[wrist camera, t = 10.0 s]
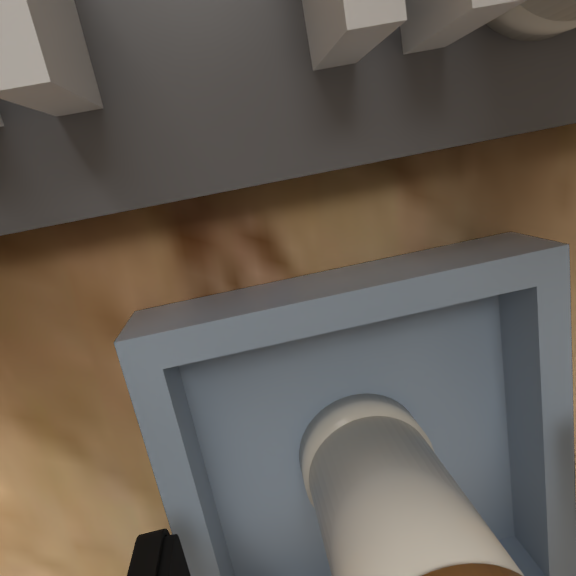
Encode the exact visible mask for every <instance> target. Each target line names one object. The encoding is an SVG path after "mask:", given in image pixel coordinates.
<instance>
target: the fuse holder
mask: <svg viewBox="0 0 576 576" xmlns="http://www.w3.org/2000/svg"><path fill="white" fill-rule="evenodd" d="M525 1H527V0H0V236H1V235H6V234H11V233H17V232H22V231H27V230H32V229H37V228H42V227H47V226H52V225H57V224H63V223H68V222H73V221H78V220H83V219H88V218H93V217H98V216H103V215H108V214H114V213H119V212H124V211H129V210H134V209H139V208H144V207H149V206H154V205H160V204H165V203H170V202H175V201H180V200H185V199H190V198H195V197H200V196H206V195H211V194H216V193H221V192H226V191H231V190H236V189H241V188H246V187H252V186H257V185H262V184H267V183H272V182H277V181H282V180H287V179H292V178H297V177H303V176H308V175H313V174H318V173H323V172H328V171H333V170H338V169H343V168H349V167H354V166H359V165H364V164H369V163H374V162H379V161H384V160H389V159H395V158H400V157H405V156H410V155H415V154H420V153H425V152H430V151H435V150H440V149H446V148H451V147H456V146H461V145H466V144H471V143H476V142H481V141H486V140H492V139H497V138H502V137H507V136H512V135H517V134H522V133H527V132H532V131H538V130H543V129H548V128H553V127H558V126H563V125H568V124H573V123H576V28H574V29H571V30H569V31H566V32H564V33H561V34H559V35H557V36H554V37H552V38H548V39H544V40H540V41H519V40H514V39H510V38H508V37H505V36H503V35H501V34H499V33H497V32H495V31H494V30H492V29H491V28H490V27H489V26H487V25H486V23H488V22H490V21H492V20H493V19H495V18H497V17H499V16H500V15H502V14H504V13H506V12H507V11H509V10H511V9H513V8H514V7H516V6H518V5H520V4H521V3H523V2H525Z"/></svg>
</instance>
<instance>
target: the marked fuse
mask: <svg viewBox="0 0 576 576" xmlns="http://www.w3.org/2000/svg"><path fill="white" fill-rule="evenodd" d="M299 462H300V467H301V472H302V476H303V480H304V484H305V488H306V492H307V495H308V498H309V500H310V502H311V504H312V506H313V507H314V509H315V512H316V515H317V519H318V523H319V527H320V531H321V535H322V539H323V543H324V547H325V551H326V555H327V559H328V563H329V567H330V571H331V575H332V576H524V575H523V573H522V572H521V570H520V569H519V568H518V566H517V565H516V564H515V562H514V561H513V559H512V558H511V557H510V555H509V554H508V553H507V551H506V550H505V549H504V547H503V546H502V544H501V543H500V542H499V540H498V539H497V538H496V536H495V535H494V533H493V532H492V531H491V529H490V528H489V527H488V525H487V524H486V523H485V521H484V520H483V518H482V517H481V516H480V514H479V513H478V512H477V510H476V509H475V507H474V506H473V505H472V503H471V502H470V501H469V499H468V498H467V496H466V495H465V494H464V492H463V491H462V490H461V488H460V487H459V486H458V484H457V483H456V481H455V480H454V479H453V477H452V476H451V475H450V473H449V472H448V470H447V469H446V468H445V466H444V465H443V464H442V462H441V461H440V460H439V458H438V457H437V455H436V454H435V453H434V449H433V447H432V444H431V442H430V440H429V438H428V436H427V435H426V434H425V432H424V431H423V430H422V428H421V427H420V426H419V424H418V423H417V422H416V420H415V419H414V418H413V416H412V415H411V414H410V412H409V411H408V410H407V409H406V408H405V407H404V406H403V405H401V404H400V403H398V402H397V401H395V400H393V399H391V398H389V397H386V396H383V395H378V394H369V393H366V394H355V395H350V396H347V397H344V398H341V399H339V400H336V401H334V402H333V403H331V404H329V405H328V406H326V407H325V408H324V409H322V410H321V411H320V412H319V413H318V414H317V415H316V416H315V417H314V418H313V419H312V421H311V422H310V423H309V425H308V426H307V428H306V430H305V432H304V434H303V436H302V439H301V443H300V448H299Z"/></svg>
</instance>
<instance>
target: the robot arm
mask: <svg viewBox="0 0 576 576" xmlns="http://www.w3.org/2000/svg"><path fill="white" fill-rule="evenodd" d="M127 576H191V575H190V572H189V568H188V565H187V562H186V558H185V555H184V552H183V549H182V545H181V542H180V539H179V536H178V535H177V534H173V535H170V534H169V532H168V530H167V529H162V530H157V531H153V532H149V533H145V534H141V535H139V536H138V537H137V539H136V542H135V546H134V550H133V554H132V558H131V562H130V566H129V570H128V574H127Z"/></svg>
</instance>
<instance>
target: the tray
mask: <svg viewBox="0 0 576 576" xmlns="http://www.w3.org/2000/svg"><path fill="white" fill-rule="evenodd" d="M114 345H115V349H116V352H117V355H118V358H119V362H120V365H121V368H122V371H123V375H124V378H125V381H126V385H127V388H128V391H129V394H130V398H131V401H132V404H133V407H134V411H135V414H136V417H137V420H138V424H139V427H140V430H141V433H142V437H143V440H144V443H145V446H146V450H147V453H148V456H149V460H150V463H151V466H152V469H153V473H154V476H155V479H156V482H157V486H158V489H159V492H160V495H161V499H162V502H163V505H164V508H165V512H166V515H167V518H168V522H169V525H170V528H171V531H172V535H173V534H177V535H178V536H179V539H180V542H181V545H182V549H183V552H184V555H185V558H186V562H187V565H188V568H189V572H190V575H191V576H332V575H331V571H330V567H329V563H328V559H327V555H326V551H325V547H324V543H323V539H322V535H321V531H320V527H319V523H318V519H317V515H316V512H315V509H314V507H313V506H312V504H311V502H310V500H309V498H308V495H307V492H306V488H305V484H304V480H303V476H302V472H301V467H300V462H299V448H300V443H301V439H302V436H303V434H304V432H305V430H306V428H307V426H308V425H309V423H310V422H311V421H312V419H313V418H314V417H315V416H316V415H317V414H318V413H319V412H320V411H321V410H322V409H324V408H325V407H326V406H328V405H329V404H331V403H333V402H334V401H336V400H339V399H341V398H344V397H347V396H350V395H355V394H366V393H369V394H378V395H383V396H386V397H389V398H391V399H393V400H395V401H397V402H398V403H400V404H401V405H403V406H404V407H405V408H406V409H407V410H408V411H409V412H410V414H411V415H412V416H413V418H414V419H415V420H416V422H417V423H418V424H419V426H420V427H421V428H422V430H423V431H424V432H425V434H426V435H427V436H428V438H429V440H430V442H431V444H432V447H433V449H434V453H435V454H436V455H437V457H438V458H439V460H440V461H441V462H442V464H443V465H444V466H445V468H446V469H447V470H448V472H449V473H450V475H451V476H452V477H453V479H454V480H455V481H456V483H457V484H458V486H459V487H460V488H461V490H462V491H463V492H464V494H465V495H466V496H467V498H468V499H469V501H470V502H471V503H472V505H473V506H474V507H475V509H476V510H477V512H478V513H479V514H480V516H481V517H482V518H483V520H484V521H485V523H486V524H487V525H488V527H489V528H490V529H491V531H492V532H493V533H494V535H495V536H496V538H497V539H498V540H499V542H500V543H501V544H502V546H503V547H504V549H505V550H506V551H507V553H508V554H509V555H510V557H511V558H512V559H513V561H514V562H515V564H516V565H517V566H518V568H519V569H520V570H521V572H522V573H523V575H524V576H576V502H575V461H574V419H573V377H572V336H571V294H570V253H569V244H566V243H561V242H556V241H552V240H547V239H542V238H538V237H533V236H529V235H524V234H519V233H515V232H507V233H502V234H497V235H493V236H488V237H483V238H479V239H474V240H469V241H464V242H460V243H455V244H450V245H446V246H441V247H436V248H431V249H427V250H422V251H417V252H412V253H408V254H403V255H398V256H394V257H389V258H384V259H379V260H375V261H370V262H365V263H361V264H356V265H351V266H346V267H342V268H337V269H332V270H327V271H323V272H318V273H313V274H309V275H304V276H299V277H294V278H290V279H285V280H280V281H275V282H271V283H266V284H261V285H257V286H252V287H247V288H242V289H238V290H233V291H228V292H224V293H219V294H214V295H209V296H205V297H200V298H195V299H190V300H186V301H181V302H176V303H172V304H167V305H162V306H157V307H153V308H148V309H143V310H138V311H134V313H133V314H132V316H131V317H130V319H129V320H128V322H127V323H126V325H125V326H124V328H123V329H122V331H121V332H120V334H119V335H118V337H117V338H116V340H115V341H114Z"/></svg>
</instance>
